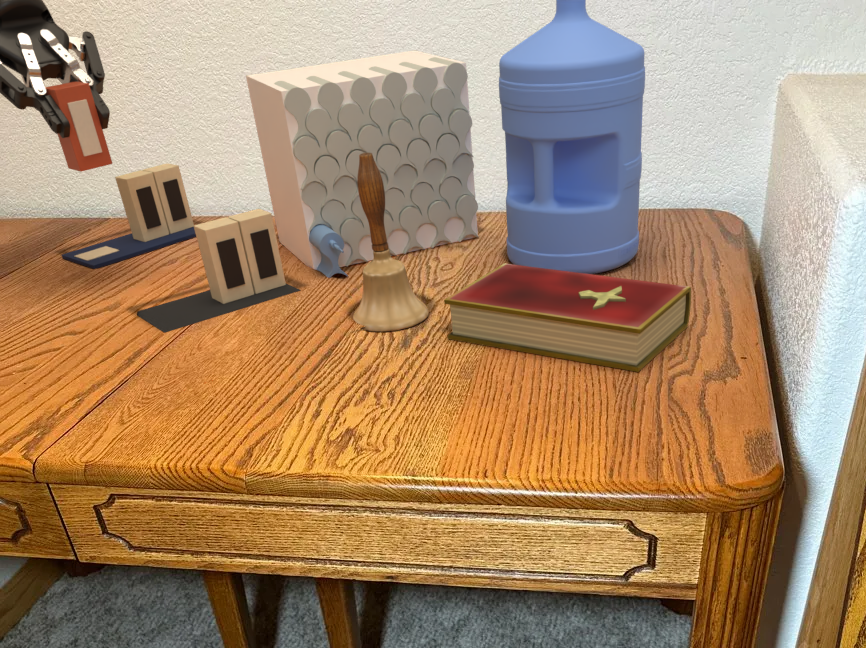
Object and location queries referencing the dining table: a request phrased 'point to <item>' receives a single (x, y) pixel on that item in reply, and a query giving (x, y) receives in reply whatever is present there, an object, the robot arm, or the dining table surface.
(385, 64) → the scalloped white box
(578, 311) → the hardcover book
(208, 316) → the front word mat
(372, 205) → the hand bell
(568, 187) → the water jug
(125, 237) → the mat
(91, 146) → the red rectangular block
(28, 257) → the dining table surface
